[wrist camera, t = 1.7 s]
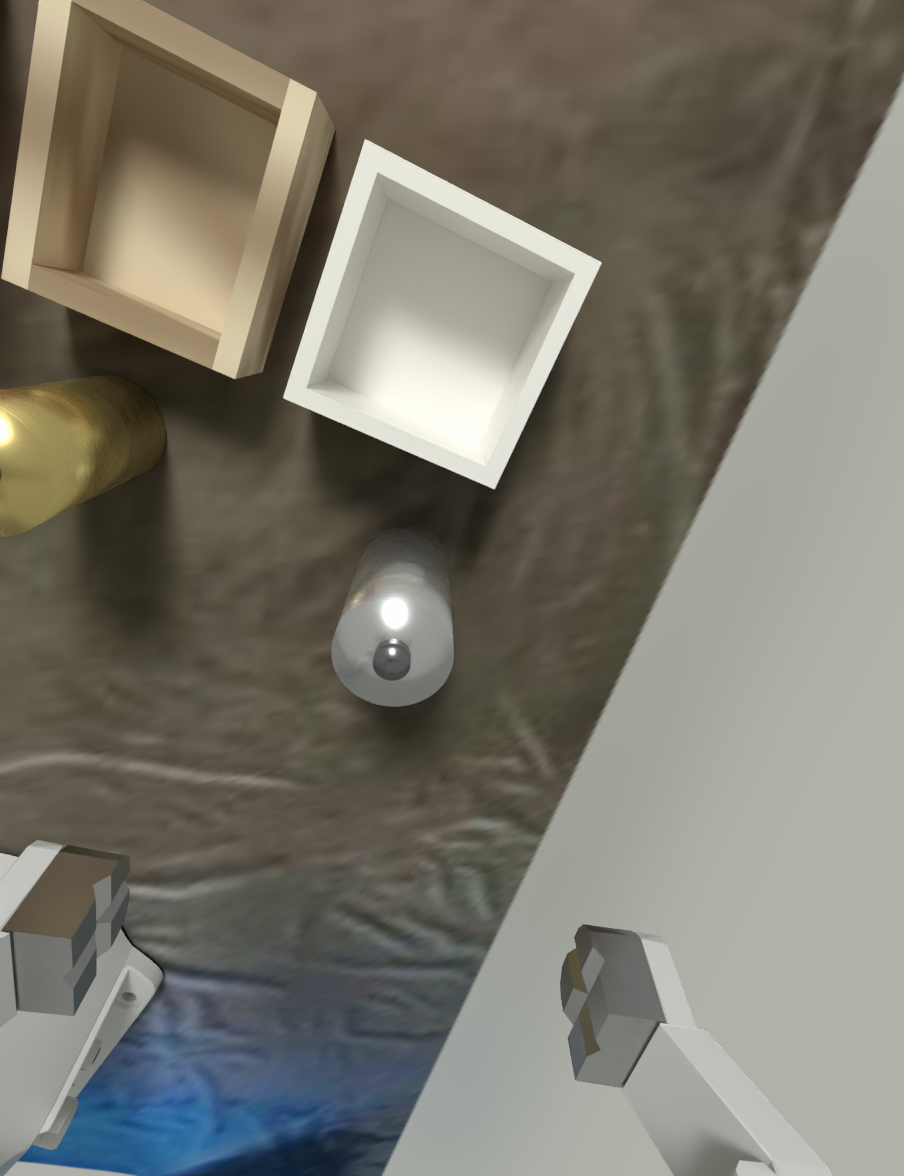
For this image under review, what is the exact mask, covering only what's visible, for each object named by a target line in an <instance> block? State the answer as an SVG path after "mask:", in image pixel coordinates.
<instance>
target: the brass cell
mask: <svg viewBox="0 0 904 1176" xmlns="http://www.w3.org/2000/svg"><path fill="white" fill-rule="evenodd" d="M165 445H166V427H165V422H164V419H163V416H162V414H161V412H160V410H159V408H158V406H157V405H156V403H155V402H154V401H153V399H152V398H151V397H150V396H149V395H148V394H147V393H146V392H145V391H144V390H143V389H141V388H140V387H139V386H137V385H136V384H134V383H132V382H130V381H128V380H126V379H123V378H120V377H116V376H110V375H99V376H92V377H85V378H78V379H71V380H64V381H57V382H50V383H43V384H36V385H29V386H22V387H15V388H8V389H1V390H0V537H7V536H13V535H17V534H20V533H23V532H25V531H27V530H29V529H31V528H33V527H35V526H37V525H39V524H41V523H43V522H45V521H47V520H49V519H51V518H53V517H55V516H57V515H59V514H61V513H63V512H65V511H67V510H69V509H71V508H74V507H76V506H78V505H80V504H82V503H84V502H86V501H88V500H90V499H92V498H94V497H96V496H98V495H100V494H102V493H104V492H106V491H108V490H110V489H112V488H114V487H116V486H118V485H120V484H122V483H124V482H126V481H128V480H130V479H132V478H134V477H136V476H138V475H140V474H142V473H144V472H146V471H148V470H150V469H151V468H152V467H153V466H154V465H155V464H157V462H158V461H159V460H160V458H161V456H162V454H163V452H164V449H165Z"/></svg>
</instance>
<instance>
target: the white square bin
mask: <svg viewBox="0 0 904 1176" xmlns="http://www.w3.org/2000/svg"><path fill="white" fill-rule="evenodd" d="M601 263H602V262H600V261H598V260H596V259H594V258H592V257H590V256H588V255H586V254H584V253H582V252H581V251H579V250H577V249H575V248H573V247H571V246H569V245H567V244H565V243H563V242H561V241H559V240H558V239H556V238H554V237H552V236H550V235H548V234H546V233H544V232H542V231H540V230H538V229H536V228H535V227H533V226H531V225H529V224H527V223H525V222H523V221H521V220H519V219H517V218H515V217H513V216H512V215H510V214H508V213H506V212H504V211H502V210H500V209H498V208H496V207H494V206H492V205H491V204H489V203H487V202H485V201H483V200H481V199H479V198H477V197H475V196H473V195H471V194H469V193H468V192H466V191H464V190H462V189H460V188H458V187H456V186H454V185H452V184H450V183H448V182H446V181H445V180H443V179H441V178H439V177H437V176H435V175H433V174H431V173H429V172H427V171H425V170H423V169H422V168H420V167H418V166H416V165H414V164H412V163H410V162H408V161H406V160H404V159H402V158H400V157H399V156H397V155H395V154H393V153H391V152H389V151H387V150H385V149H383V148H381V147H379V146H377V145H376V144H374V143H372V142H370V141H368V140H366V139H365V141H364V144H363V147H362V151H361V154H360V157H359V160H358V163H357V166H356V170H355V173H354V176H353V179H352V182H351V185H350V188H349V192H348V195H347V198H346V201H345V204H344V207H343V210H342V214H341V217H340V220H339V223H338V226H337V229H336V233H335V236H334V239H333V242H332V245H331V248H330V251H329V255H328V258H327V261H326V264H325V267H324V270H323V273H322V277H321V280H320V283H319V286H318V289H317V292H316V295H315V299H314V302H313V305H312V308H311V311H310V314H309V318H308V321H307V324H306V327H305V330H304V333H303V336H302V340H301V343H300V346H299V349H298V352H297V355H296V358H295V362H294V365H293V368H292V371H291V374H290V377H289V381H288V384H287V387H286V390H285V393H284V396H283V398H284V399H286V400H289V401H291V402H293V403H296V404H298V405H300V406H302V407H305V408H307V409H309V410H312V411H314V412H316V413H319V414H321V415H323V416H326V417H328V418H330V419H333V420H335V421H337V422H340V423H342V424H344V425H346V426H349V427H351V428H353V429H356V430H358V431H360V432H363V433H365V434H367V435H370V436H372V437H374V438H377V439H379V440H381V441H384V442H386V443H388V444H391V445H393V446H395V447H397V448H400V449H402V450H404V451H407V452H409V453H411V454H414V455H416V456H418V457H421V458H423V459H425V460H428V461H430V462H432V463H435V464H437V465H439V466H441V467H444V468H446V469H448V470H451V471H453V472H455V473H458V474H460V475H462V476H465V477H467V478H469V479H472V480H474V481H476V482H479V483H481V484H483V485H485V486H488V487H490V488H492V489H495V487H496V485H497V483H498V481H499V479H500V477H501V475H502V473H503V471H504V468H505V466H506V464H507V462H508V460H509V458H510V456H511V454H512V451H513V449H514V447H515V445H516V443H517V441H518V439H519V437H520V435H521V432H522V430H523V428H524V426H525V424H526V422H527V420H528V418H529V415H530V413H531V411H532V409H533V407H534V405H535V403H536V401H537V399H538V396H539V394H540V392H541V390H542V388H543V386H544V384H545V382H546V379H547V377H548V375H549V373H550V371H551V369H552V367H553V365H554V363H555V360H556V358H557V356H558V354H559V352H560V350H561V348H562V346H563V343H564V341H565V339H566V337H567V335H568V333H569V331H570V329H571V327H572V324H573V322H574V320H575V318H576V316H577V314H578V312H579V310H580V308H581V305H582V303H583V301H584V299H585V297H586V295H587V293H588V291H589V288H590V286H591V284H592V282H593V280H594V278H595V276H596V274H597V272H598V269H599V267H600V265H601Z"/></svg>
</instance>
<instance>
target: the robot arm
mask: <svg viewBox="0 0 904 1176" xmlns="http://www.w3.org/2000/svg"><path fill="white" fill-rule="evenodd" d="M129 871H130V857H129V856H125V855H120V854H114V853H109V852H103V851H98V850H92V849H87V848H81V847H76V846H70V845H64V844H58V843H52V842H46V841H40V840H37V841H35V842H34V843H32V844H31V845H30V846H28V847H27V848H26V849H25V850H24V851H23V853H22V854H21V855H20V856H19V857H16V856H12V855H8V854H3V853H0V1176H4V1174H6V1173H7V1171H8V1170H9V1169H10V1168H11V1167H12V1166H13V1165H14V1164H15V1163H16V1162H17V1161H18V1160H19V1159H20V1158H21V1157H22V1156H23V1155H24V1154H25V1152H26V1151H27V1150H28V1149H29V1148H30V1147H31V1145H34V1146H35V1145H37V1146H38V1147H41V1148H45V1149H48V1150H52V1149H56V1148H57V1147H58V1145H59V1143H60V1142H61V1140H62V1138H63V1136H64V1134H65V1133H66V1131H67V1129H68V1127H69V1125H70V1123H71V1121H72V1118H73V1116H74V1114H75V1112H76V1110H77V1107H78V1105H79V1101H77V1098H76V1097H77V1096H78V1094H79V1093H80V1092H81V1091H82V1089H83V1088H84V1087H85V1085H86V1084H87V1083H88V1081H89V1080H90V1079H91V1077H92V1076H93V1075H94V1073H95V1072H96V1071H97V1069H98V1068H99V1067H100V1066H101V1064H102V1063H103V1062H104V1060H105V1059H106V1058H107V1056H108V1055H109V1054H110V1052H111V1051H112V1050H113V1048H114V1047H115V1046H116V1045H117V1043H118V1042H119V1041H120V1039H121V1038H122V1037H123V1035H124V1034H125V1033H126V1031H127V1030H128V1029H129V1027H130V1026H131V1025H132V1023H133V1022H134V1021H135V1020H136V1018H137V1017H138V1016H139V1014H140V1013H141V1012H142V1010H143V1009H144V1008H145V1006H146V1005H147V1004H148V1002H149V1001H150V1000H151V999H152V997H153V996H154V994H155V992H156V990H157V989H158V987H159V985H160V983H161V981H162V979H163V974H162V971H161V970H160V968H159V967H158V966H157V965H156V964H155V963H154V962H152V961H151V960H150V959H149V958H148V957H146V956H145V955H144V954H142V953H141V952H140V951H138V950H137V949H136V948H134V947H133V946H132V945H131V943H130V942H129V941H128V939H127V938H126V936H125V935H124V933H123V931H122V929H121V926H122V923H123V921H124V918H125V915H126V913H127V908H128V903H129V891H130V889H129V888H128V886H127V885H126V884H125V883H124V880H125V878H126V876H127V875H128V873H129ZM574 938H575V943H576V949H574V950H572V951H571V952H569V953H568V954H567V956H566V959H565V961H564V963H563V966H562V974H561V981H560V985H561V1000H562V1006H563V1011H564V1013H565V1014H566V1015H567V1017H568V1018H569V1020H570V1021H571V1022H572V1024H573V1025H574V1026H573V1028H572V1030H571V1032H570V1034H569V1037H568V1042H569V1048H570V1054H571V1059H572V1065H573V1071H574V1076H575V1080H577V1081H583V1082H589V1083H595V1084H601V1085H607V1086H613V1087H621V1088H623V1089H622V1092H623V1093H624V1095H625V1097H626V1098H627V1100H628V1101H629V1103H630V1105H631V1107H632V1108H633V1110H634V1112H635V1113H636V1115H637V1116H638V1118H639V1120H640V1121H641V1123H642V1124H643V1126H644V1128H645V1129H646V1131H647V1133H648V1134H649V1136H650V1137H651V1139H652V1141H653V1142H654V1144H655V1146H656V1147H657V1149H658V1151H659V1152H660V1154H661V1155H662V1157H663V1159H664V1160H665V1162H666V1163H667V1165H668V1167H669V1168H670V1170H671V1172H672V1173H673V1175H674V1176H832V1175H831V1173H830V1171H829V1169H828V1167H827V1166H826V1165H825V1164H824V1163H823V1162H822V1161H821V1159H820V1158H819V1157H818V1156H817V1155H816V1154H815V1153H814V1152H813V1150H812V1149H811V1148H810V1147H809V1146H808V1145H807V1144H806V1142H805V1141H803V1139H802V1138H801V1137H800V1136H799V1135H798V1133H797V1132H796V1131H795V1130H794V1129H793V1128H792V1127H791V1126H790V1124H789V1123H788V1122H787V1121H786V1120H785V1119H784V1118H783V1117H782V1115H781V1114H780V1113H779V1112H778V1111H777V1110H776V1109H775V1108H774V1106H773V1105H772V1104H771V1103H770V1102H769V1101H768V1100H767V1099H766V1098H765V1096H764V1095H763V1094H762V1093H761V1092H760V1091H759V1090H758V1088H757V1087H756V1086H755V1085H754V1084H753V1083H752V1082H751V1080H750V1079H749V1078H748V1077H747V1076H746V1075H745V1074H744V1073H743V1072H742V1070H741V1069H740V1068H739V1067H738V1066H737V1065H736V1064H735V1062H734V1061H733V1060H732V1059H731V1058H730V1057H729V1056H728V1055H727V1053H726V1052H725V1051H724V1050H723V1049H722V1048H721V1047H720V1046H719V1044H718V1043H717V1042H716V1041H715V1040H714V1039H713V1038H712V1037H711V1035H710V1034H709V1033H708V1032H707V1031H706V1030H705V1029H700V1028H697V1026H696V1023H695V1020H694V1018H693V1015H692V1012H691V1009H690V1006H689V1004H688V1001H687V998H686V996H685V993H684V990H683V987H682V985H681V982H680V979H679V977H678V974H677V971H676V968H675V965H674V963H673V960H672V957H671V954H670V951H669V949H668V946H667V943H666V941H665V940H664V939H663V938H662V936H657V935H651V934H644V933H637V932H632V931H628V930H621V929H613V928H606V927H599V926H592V925H584V924H583V925H582V926H581V927H579V928H578V931H577V933H576V935H575V937H574Z"/></svg>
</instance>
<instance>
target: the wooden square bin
mask: <svg viewBox="0 0 904 1176" xmlns="http://www.w3.org/2000/svg"><path fill="white" fill-rule="evenodd" d="M334 132H335V127H334V125H333V123H332V121H331V119H330V117H329V115H328V113H327V111H326V109H325V108H324V106H323V104H322V102H321V100H320V98H319V96H318V94H317V93H316V92H314V91H313V90H311V89H309V88H307V87H305V86H303V85H301V84H299V83H297V82H296V81H294V80H292V79H290V78H288V77H286V76H284V75H282V74H280V73H279V72H277V71H275V70H273V69H271V68H269V67H267V66H265V65H263V64H261V63H260V62H258V61H256V60H254V59H252V58H250V57H248V56H246V55H244V54H243V53H241V52H239V51H237V50H235V49H233V48H231V47H229V46H227V45H226V44H224V43H222V42H220V41H218V40H216V39H214V38H212V37H210V36H208V35H207V34H205V33H203V32H201V31H199V30H197V29H195V28H193V27H191V26H190V25H188V24H186V23H184V22H182V21H180V20H178V19H176V18H174V17H173V16H171V15H169V14H167V13H165V12H163V11H161V10H159V9H157V8H155V7H154V6H152V5H150V4H148V3H146V2H144V1H142V0H39V6H38V13H37V21H36V28H35V35H34V42H33V50H32V57H31V64H30V72H29V79H28V86H27V94H26V101H25V108H24V116H23V123H22V130H21V138H20V145H19V152H18V160H17V167H16V174H15V182H14V189H13V196H12V204H11V211H10V218H9V226H8V233H7V240H6V247H5V255H4V262H3V269H2V277H1V279H4V280H6V281H8V282H11V283H13V284H15V285H18V286H20V287H22V288H25V289H27V290H29V291H32V292H34V293H36V294H38V295H41V296H43V297H45V298H48V299H50V300H52V301H55V302H57V303H59V304H62V305H64V306H66V307H69V308H71V309H73V310H76V311H78V312H80V313H83V314H85V315H87V316H90V317H92V318H94V319H96V320H99V321H101V322H103V323H106V324H108V325H110V326H113V327H115V328H117V329H120V330H122V331H124V332H127V333H129V334H131V335H134V336H136V337H138V338H141V339H143V340H145V341H148V342H150V343H152V344H154V345H157V346H159V347H161V348H164V349H166V350H168V351H171V352H173V353H175V354H178V355H180V356H182V357H185V358H187V359H189V360H192V361H194V362H196V363H199V364H201V365H203V366H206V367H208V368H210V369H212V370H215V371H217V372H219V373H222V374H224V375H226V376H229V377H231V378H233V379H238V378H242V377H246V376H250V375H253V374H257V373H261V372H263V369H264V365H265V362H266V359H267V355H268V352H269V349H270V345H271V342H272V339H273V335H274V332H275V329H276V325H277V322H278V319H279V315H280V312H281V309H282V305H283V302H284V299H285V295H286V292H287V289H288V285H289V282H290V279H291V275H292V272H293V269H294V265H295V262H296V259H297V255H298V252H299V249H300V245H301V242H302V239H303V235H304V232H305V229H306V225H307V222H308V219H309V215H310V212H311V209H312V205H313V202H314V199H315V195H316V192H317V189H318V185H319V182H320V179H321V175H322V172H323V169H324V165H325V162H326V159H327V155H328V152H329V149H330V146H331V142H332V139H333V136H334Z"/></svg>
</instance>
